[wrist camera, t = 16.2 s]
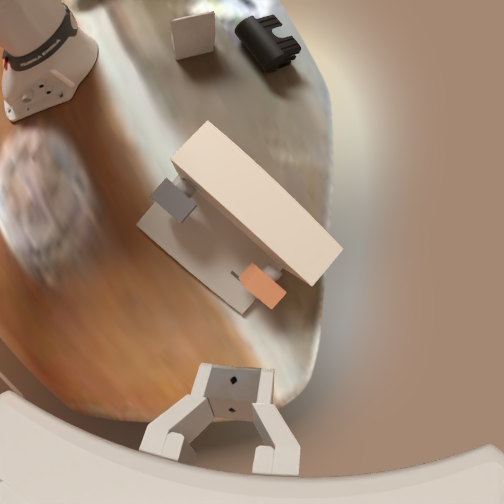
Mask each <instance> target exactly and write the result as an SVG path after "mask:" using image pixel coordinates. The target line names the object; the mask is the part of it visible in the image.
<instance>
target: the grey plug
mask: <svg viewBox="0 0 504 504" xmlns="http://www.w3.org/2000/svg"><path fill="white" fill-rule="evenodd" d="M196 191H197V189H196V188H195V187H194V186H193V185H192V184H191V183H190V182H188V181H187V180H186V179H185V178H183V179H182V180H181V181H180V183H179V184H178V185H177V186H175V185H174V184H173V183H172V182H171V181H170V180H168V179H167V178H166V179H165V180H164V181H163V182H162V183H161V184H160V185H159V187H158V188H157V189H156V190H155V191H154V192H153V194H152V195H151V196H150V197H151V198H152V199H153V200H154V201H156V202H157V203H158V204H159V205H160V206H161V207H162V208H163V209H164V210H166V211H167V212H168V213H169V214H170V215H171V216H172V217H173V218H175V219H176V220H177V221H178V222H179V223H183V222H184V220H185V219H186V218H187V217H188V216H189V215H190V214H191V212H192V211H193V210H194V209H195V208H196V207H197V204H195V203H194V202H193V201H192V200H191V199H190V198H191V196H192V195H193V194H194V193H195V192H196Z"/></svg>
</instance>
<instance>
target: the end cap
mask: <svg viewBox="0 0 504 504" xmlns="http://www.w3.org/2000/svg"><path fill="white" fill-rule="evenodd" d="M279 26H282V23H281V22H280V21H279V20H278V19H277V18H276V17H275V16H274V15H270V16H266V17H263V18H259V19H255V18H254V16H250V17H248V18H246V19H244V20H243V21H241V22H240V23H239V24H238V25H237V27H236V29H235V34H236V35H237V37H238V38H239V39H240V40H241V41H242V43H243V44H244V45H245V47H246V48H247V49H248V50H249V52H250V53H251V54H252V55H253V57H254V58H255V59H256V61H257V62H258V63H259V65H260V66H261V67H262V69H263V70H264V71H265V72H273V71H276V70H277V69H279V68H281V67H284V66H287V65H289V64H290V63H291V61H292V60H294V59H295V58H296V56H295V54H298V53H299V52H300V50H301V47H300V45H299V44H298V43H297V41H296V40H295V39H294V38H293V36H289V37H285V38H279V37H276V36H275V35H274V34H273V33H272V29H273V28H276V27H279ZM292 55H293V56H292Z"/></svg>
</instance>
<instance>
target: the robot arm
mask: <svg viewBox="0 0 504 504" xmlns="http://www.w3.org/2000/svg"><path fill="white" fill-rule="evenodd" d="M0 46H1V47H2V48H3V49H4V51H3V57H2V58H3V59H4V61H3V69H4V72H3V77H2V94H3V97H4V106H5V112H6V115H7V117H8V118H9V119H10V120H11V121H12V122H15V121H17V120H20V119H22V118H24V117H27V116H29V115H31V114H34V113H36V112H39V111H41V110H44V109H47V108H49V107H52V106H55V105H58V104H61V103H63V102H66V101H69V100H70V99H71V98H72V97H73V95H74V93H75V91H76V89H77V87H78V85H79V83H80V82H81V81H82V80H83V79H84V78H85V77H86V75H87V74H88V73H89V71H90V70H91V69H92V67H93V65H94V63H95V61H96V58H97V54H98V46H97V43H96V41H95V40H94V39H93V38H92V37H90V36H88V35H87V34H85V33H84V32H83V31H82V30H81V29H80V28H79V27H78V24H77V21H76V19H75V17H74V15H73V14H72V12H71V11H70V10H69V8H68V7H67V6H66V5H65V4H64V3H62V2H61V0H0ZM62 95H63V97H61V96H62ZM10 111H11V112H10ZM273 393H274V369H262V368H251V367H234V366H225V365H216V364H209V363H201V365H200V366H199V369H198V372H197V376H196V379H195V382H194V385H193V388H192V391H191V395H188V394H187V395H186V396H184V397H183V398H182V399H181V400H180V401H178V402H177V403H176V404H174V405H173V406H172V407H171V408H169V409H168V410H167V411H166V412H164V413H163V414H162V415H160V416H159V417H158V418H157V419H155V420H154V421H153V422H151V423H150V424H149V425H148V427H147V429H146V432H145V434H144V437H143V440H142V443H141V445H140V448H139V451H137V450H134V449H131V448H128V447H125V446H122V445H119V444H116V443H114V442H111V441H108V440H106V439H103V438H101V437H98V436H96V435H94V434H91V433H89V432H87V431H84V430H82V429H80V428H78V427H76V426H74V425H72V424H69V423H67V422H65V421H63V420H61V419H59V418H57V417H55V416H54V415H52V414H50V413H48V412H46V411H44V410H43V409H41V408H39V407H37V406H36V405H34V404H32V403H31V402H29V401H27V400H26V399H24V398H22V397H21V396H19V395H18V394H16V393H15V392H13V391H6V392H4V393H2V394H0V504H504V454H503V453H502V452H501V451H500V450H499V449H497V448H496V447H494V446H493V445H491V444H484V445H481V446H479V447H476V448H473V449H471V450H468V451H465V452H462V453H459V454H456V455H453V456H449V457H446V458H442V459H439V460H435V461H431V462H428V463H423V464H419V465H414V466H410V467H405V468H400V469H394V470H388V471H382V472H376V473H367V474H358V475H348V476H331V477H299V463H300V445H299V444H298V442H297V441H296V439H295V437H294V436H293V434H292V433H291V431H290V429H289V428H288V426H287V425H286V423H285V421H284V420H283V418H282V416H281V415H280V413H279V411H278V410H277V408H276V406H275V405H274V404H273ZM214 417H216V418H225V419H235V420H242V421H251V422H254V423H255V425H256V428H257V430H258V432H259V433H260V436H261V438H262V440H263V441H264V443H265V445H266V446H258V447H257V448H256V452H255V458H254V463H253V469H252V475H251V474H242V473H234V472H227V471H220V470H214V469H208V468H203V467H197V466H195V462H196V458H197V455H196V453H195V452H194V450H193V449H192V448H191V446H190V445H189V444H190V442H192V440H194V439H195V438H196V437H197V436H198V435H199V434H200V433H201V432H202V431H203V430H204V429H205V428H206V426H207V425H209V424H210V422H212V421H213V419H214Z"/></svg>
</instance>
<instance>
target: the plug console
mask: <svg viewBox="0 0 504 504" xmlns="http://www.w3.org/2000/svg"><path fill="white" fill-rule="evenodd" d="M170 159H171V161H172V163H173V165H174V167H175V169H176V171H177V173H178V176H177V177H176V178H175V180H174V181H173V182H172V183H173V184H174V185H175V186H177V185H178V184H179V183H180V181H181V180H182V179H183V178H185V179H186V180H187V181H188V182H190V183H191V184H192V185H193V186H194V187H195V188H196V189H197V191H196V192H195V193H194V194H193V195H192V196H191V198H190V199H191V200H192V201H193V202H194V203H195V204H197V207H196V208H195V209H194V210H193V211H192V212H191V214H190V215H189V216H188V217H187V218H186V219H185V220H184V222H183V223H179V222H178V221H177V220H176V219H175V218H173V217H172V216H171V215H170V214H169V213H168V212H167V211H166V210H164V209H163V208H162V207H161V206H160V205H159V204H158V203H157V202H156V201H155V202H154V204H153V205H152V206H151V207H150V208H149V210H148V211H147V212H146V213H145V214H144V216H143V217H142V218H141V219H140V221H139V222H138V223H137V224H136V225H137V226H138V227H139V228H140V229H141V230H142V231H143V232H145V233H146V234H147V235H148V236H149V237H150V238H151V239H152V240H154V241H155V242H156V243H157V244H158V245H159V246H160V247H161V248H163V249H164V250H165V251H166V252H167V253H168V254H169V255H171V256H172V257H173V258H174V259H175V260H176V261H178V262H179V263H180V264H181V265H182V266H183V267H185V268H186V269H187V270H188V271H189V272H190V273H192V274H193V275H194V276H195V277H196V278H198V279H199V280H200V281H201V282H202V283H204V284H205V285H206V286H207V287H208V288H210V289H211V290H212V291H213V292H215V293H216V294H217V295H218V296H219V297H221V298H222V299H223V300H224V301H226V302H227V303H228V304H229V305H231V306H232V307H233V308H234V309H236V310H237V311H238V312H239V313H241V314H243V313H244V312H245V311H246V310H247V308H248V307H249V306H250V305H251V304H252V303H253V302H254V301H255V299H256V298H257V297H256V296H254V295H253V294H252V293H251V292H250V291H248V290H247V289H246V288H245V287H244V286H243V285H242V283H241V282H240V280H239V278H238V277H239V276H240V275H241V274H242V273H243V272H244V271H245V270H246V268H247V267H248V266H249V265H250V264H251V263H252V262H253V263H254V264H255V265H256V266H257V267H258V268H259V269H261V270H263V269H264V268H265V267H266V266H267V265H268V264H269V263H271V264H272V265H273V266H274V267H276V268H277V269H278V270H279V271H281V270H282V269H285V270H287V271H288V272H290V273H291V274H293V275H294V276H296V277H298V278H299V279H301V280H302V281H304V282H306V283H307V284H309V285H310V286H313V285H314V284H315V282H316V281H317V280H318V279H319V278H320V277H321V275H322V274H323V273H324V272H325V271H326V269H327V268H328V267H329V266H330V264H331V263H332V262H333V260H335V258H336V257H337V256H338V255H339V253H340V252H341V251H342V250H343V249H342V247H341V246H340V245H339V244H338V243H337V242H336V241H335V240H334V239H333V238H332V237H331V236H330V235H329V234H328V233H327V232H326V231H325V230H324V228H323V227H322V226H321V225H320V224H319V223H318V222H317V221H316V220H315V219H314V218H313V217H312V216H311V215H310V214H309V213H308V212H307V211H306V210H305V209H304V208H303V207H302V206H301V205H300V204H299V203H298V202H297V201H296V200H295V199H294V198H293V197H292V196H291V195H289V194H288V193H287V192H286V191H285V190H284V189H283V188H282V187H281V186H280V185H279V184H278V183H277V182H276V181H275V180H274V179H273V178H272V177H271V176H270V175H269V174H267V173H266V172H265V171H264V170H263V169H262V168H261V167H260V166H259V165H258V164H257V163H256V162H254V161H253V160H252V159H251V158H250V157H249V156H248V155H247V154H246V153H245V152H243V151H242V150H241V149H240V148H239V147H238V146H237V145H236V144H234V143H233V142H232V141H231V140H230V139H229V138H228V137H226V136H225V135H224V134H223V133H222V132H221V131H220V130H218V129H217V128H216V127H215V126H214V125H213V124H211V123H210V122H209V121H207V122H206V123H205V124H204V125H203V126H202V127H201V128H200V129H199V130H198V131H197V132H196V133H195V134H194V135H193V136H192V137H191V138H190V139H189V140H188V141H187V142H186V143H185V144H184V145H183V146H182V147H181V148H180V149H179V150H178V151H177V152H176V153H175V154H174V155H173V156H172V157H171V158H170Z"/></svg>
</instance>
